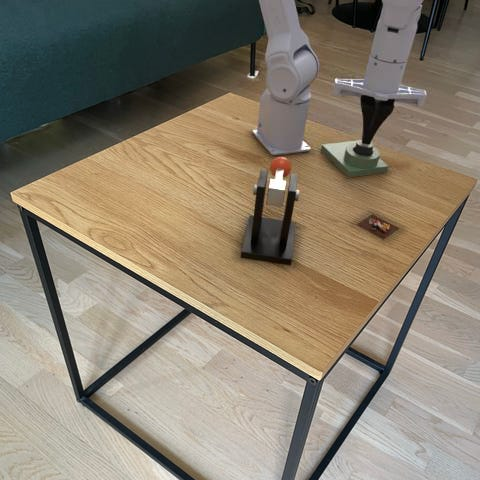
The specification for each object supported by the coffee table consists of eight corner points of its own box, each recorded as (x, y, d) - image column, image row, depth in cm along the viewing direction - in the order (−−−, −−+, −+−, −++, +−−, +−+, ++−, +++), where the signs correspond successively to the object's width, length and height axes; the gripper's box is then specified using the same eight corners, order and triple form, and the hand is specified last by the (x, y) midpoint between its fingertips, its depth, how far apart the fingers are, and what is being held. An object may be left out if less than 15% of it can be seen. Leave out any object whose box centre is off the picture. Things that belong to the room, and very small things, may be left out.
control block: (320, 150, 92) (323, 135, 90) (357, 146, 94) (361, 130, 92) (348, 177, 86) (352, 161, 84) (386, 172, 88) (391, 156, 86)
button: (350, 149, 87) (353, 140, 86) (365, 148, 88) (367, 138, 87) (359, 157, 86) (362, 148, 84) (374, 156, 86) (377, 146, 85)
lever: (269, 171, 73) (272, 152, 72) (289, 174, 73) (293, 155, 71) (262, 206, 65) (265, 185, 63) (285, 209, 65) (288, 188, 63)
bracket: (248, 220, 74) (255, 160, 67) (295, 227, 74) (306, 167, 67) (240, 257, 68) (246, 194, 61) (291, 265, 68) (303, 202, 61)
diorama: (382, 235, 74) (386, 224, 73) (361, 224, 76) (365, 212, 74) (392, 228, 76) (396, 216, 74) (372, 217, 78) (376, 206, 76)
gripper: (341, 59, 73) (323, 146, 83) (440, 72, 73) (410, 158, 82) (341, 44, 78) (324, 128, 88) (433, 56, 78) (406, 139, 87)
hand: (365, 141), depth 85 cm, fingers closed
